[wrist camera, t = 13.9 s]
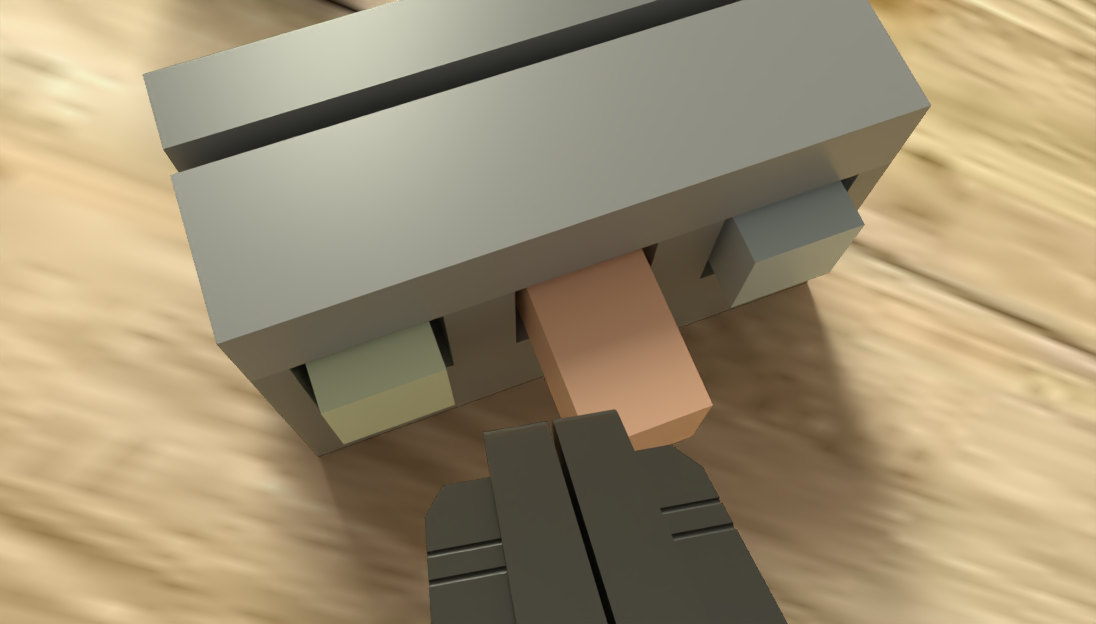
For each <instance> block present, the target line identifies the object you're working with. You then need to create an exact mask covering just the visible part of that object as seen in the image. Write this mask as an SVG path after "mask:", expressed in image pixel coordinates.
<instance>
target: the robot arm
mask: <svg viewBox="0 0 1096 624" xmlns="http://www.w3.org/2000/svg"><path fill="white" fill-rule="evenodd" d="M551 428H552V435H551V432H550V429H549V426H548V423H547V421H545V422H540V423H534V424H528V425H523V426H517V427H511V428H505V429H500V430H494V431H488V432H483V436H484V442H485V448H486V455H487V461H488V467H489V473H490V477H488V478H482V479H477V480H471V481H466V482H460V483H455V484H449V485H443V486H442V488H441V490H440V491H439V493H438V495H437V497H436V499H435V501H434V502H433V504H432V506H431V508H430V510H429V512H428V513H427V515H426V517H425V525H426V542H427V554H428V576H429V585H430V587H429V592H430V609H431V624H788V623H787V622H786V620H785V618H784V616H783V614H782V612H781V610H780V609H779V607H778V605H777V603H776V601H775V599H774V598H773V596H772V594H771V592H770V590H769V588H768V586H767V585H766V583H765V581H764V579H763V577H762V575H761V574H760V572H759V570H758V568H757V566H756V564H755V562H754V561H753V559H752V557H751V555H750V553H749V551H748V550H747V548H746V546H745V544H744V542H743V540H742V538H741V537H740V535H739V533H738V531H737V529H734V527H733V522H732V520H731V518H730V516H729V514H728V513H727V511H726V509H725V507H724V505H723V503H720V500H719V496H718V494H717V492H716V490H715V489H714V487H713V485H712V483H711V481H710V479H709V478H708V476H707V474H706V472H705V470H704V468H703V467H702V466H701V465H699V464H698V463H696V462H695V461H693V460H692V459H691V458H689V457H688V456H686V455H685V454H683V453H682V452H681V451H679V450H678V449H676V448H675V447H673V446H672V445H665V446H659V447H654V448H648V449H643V450H637V451H635V450H634V448H633V446H632V444H631V441H630V439H629V437H628V434H627V432H626V430H625V427H624V425H623V423H622V421H621V418H620V416H619V414H618V412H617V411H616V410H615V409H613V410H607V411H601V412H596V413H590V414H584V415H578V416H573V417H567V418H561V419H556V420H552V422H551Z"/></svg>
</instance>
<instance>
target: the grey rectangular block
mask: <svg viewBox="0 0 1096 624" xmlns="http://www.w3.org/2000/svg"><path fill="white" fill-rule="evenodd" d="M864 225H865V224H864V222H863V220H862V219H861V217H860V215H859V213H858V211H857V210H856V208H855V206H854V204H853V202H852V200H851V199H850V197H849V195H848V193H847V191H846V189H845V188H844V186H843V184H842V182H841V180H840V181H837V182H834V183H831V184H828V185H825V186H822V187H819V188H817V189H814V190H811V191H808V192H805V193H802V194H799V195H796V196H793V197H790V198H787V199H784V200H781V201H779V202H776V203H773V204H770V205H767V206H764V207H761V208H758V209H755V210H752V211H749V212H746V213H743V214H740V215H738V216H735V217H732V218H729V219H726V220H725V221H724V224H723V226H722V228H721V231H720V233H719V235H718V238H717V240H716V242H715V245H714V247H713V249H712V252H711V254H710V256H709V258H708V261H709V263H710V265H711V267H712V269H713V271H714V273H715V275H716V278H717V280H718V282H719V284H720V286H721V288H722V290H723V292H724V294H725V296H726V298H727V301H728V303H729V305H730V307H731V308H732V307H734V306H737V305H740V304H743V303H746V302H748V301H751V300H754V299H757V298H760V297H762V296H765V295H768V294H771V293H774V292H776V291H779V290H782V289H785V288H788V287H790V286H793V285H796V284H799V283H802V282H804V281H807V280H810V279H813V278H816V277H818V276H821V275H824V274H827V273H829V272H830V271H831V269H832V268H833V267H834V265H835V264H836V263H837V261H838V260H839V259H840V257H841V256H842V255H843V253H844V252H845V251H846V249H847V248H848V247H849V245H850V244H851V242H852V241H853V240H854V238H855V237H856V236H857V234H858V233H859V232H860V230H861V229H862V228H863V226H864Z"/></svg>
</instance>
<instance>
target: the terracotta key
mask: <svg viewBox="0 0 1096 624" xmlns="http://www.w3.org/2000/svg"><path fill="white" fill-rule="evenodd" d="M515 303H516V306H517V308H518V311H519V313H520V316H521V318H522V321H523V323H524V326H525V328H526V331H527V334H528V336H529V339H530V341H531V344H532V346H533V349H534V351H535V354H536V356H537V359H538V361H539V364H540V366H541V369H542V371H543V374H544V377H545V379H546V382H547V384H548V387H549V389H550V392H551V394H552V397H553V399H554V402H555V404H556V407H557V409H558V412H559V414H560V417H561V418H567V417H573V416H578V415H584V414H590V413H596V412H601V411H607V410H613V409H615V410H616V411H617V412H618V414H619V416H620V418H621V421H622V423H623V425H624V427H625V430H626V432H627V434H628V437H629V439H630V441H631V444H632V446H633V448H634V450H635V451H637V450H643V449H648V448H654V447H659V446H665V445H670V444H673V443H676V442H678V441H681V440H684V439H686V438H689V437H692V435H693V434H694V433H695V431H696V430H697V428H698V427H699V425H700V424H701V422H702V421H703V419H704V418H705V416H706V415H707V413H708V412H709V410H710V409H711V407H712V406H713V404H712V402H711V400H710V397H709V395H708V393H707V391H706V389H705V386H704V384H703V382H702V380H701V378H700V375H699V373H698V371H697V369H696V367H695V364H694V362H693V360H692V358H691V356H690V353H689V351H688V349H687V347H686V345H685V342H684V340H683V338H682V336H681V334H680V331H679V329H678V327H677V325H676V323H675V320H674V318H673V316H672V314H671V312H670V309H669V307H668V305H667V303H666V301H665V298H664V296H663V294H662V292H661V290H660V287H659V285H658V283H657V281H656V279H655V276H654V274H653V272H652V270H651V268H650V265H649V263H648V261H647V259H646V257H645V254H644V252H643V250H642V248H641V249H638V250H635V251H632V252H629V253H626V254H624V255H621V256H618V257H615V258H612V259H609V260H606V261H603V262H600V263H597V264H594V265H591V266H588V267H586V268H583V269H580V270H577V271H574V272H571V273H568V274H565V275H562V276H559V277H556V278H553V279H550V280H547V281H545V282H542V283H539V284H536V285H533V286H530V287H527V288H524V289H521V290H518V291H515Z"/></svg>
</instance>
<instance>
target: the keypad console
mask: <svg viewBox="0 0 1096 624" xmlns="http://www.w3.org/2000/svg"><path fill="white" fill-rule="evenodd" d="M143 77H144V81H145V85H146V88H147V92H148V96H149V99H150V103H151V107H152V110H153V114H154V118H155V121H156V125H157V128H158V132H159V136H160V139H161V143H162V147H163V150H164V151H165V153H166V154H167V156H168V157H169V159H170V160H171V162H172V163H173V164H174V166H175V167H176V169H177V170H178V172H179V173H176V174H173V175H170V176H171V180H172V183H173V187H174V190H175V194H176V198H177V201H178V205H179V209H180V212H181V216H182V220H183V223H184V227H185V231H186V234H187V238H188V242H189V245H190V249H191V253H192V256H193V260H194V263H195V267H196V271H197V274H198V278H199V282H200V285H201V289H202V293H203V296H204V300H205V304H206V307H207V311H208V315H209V318H210V322H211V325H212V329H213V333H214V336H215V340H216V344H217V345H218V346H219V347H220V348H221V350H222V351H223V352H224V353H225V354H226V355H227V356H228V357H229V358H230V360H231V361H232V362H233V363H234V364H235V365H236V366H237V367H238V368H239V369H240V371H241V372H242V373H243V374H244V375H245V376H246V377H247V378H248V379H249V380H250V382H251V383H252V384H253V385H254V386H255V387H256V388H257V389H258V390H259V392H260V393H261V394H262V395H263V396H264V397H265V398H266V399H267V400H268V401H269V403H270V404H271V405H272V406H273V407H274V408H275V409H276V410H277V411H278V413H279V414H280V415H281V416H282V417H283V418H284V419H285V420H286V421H287V422H288V424H289V425H290V426H291V427H292V428H293V429H294V430H295V431H296V432H297V434H298V435H299V436H300V437H301V438H302V439H303V440H304V441H305V442H306V443H307V445H308V446H309V447H310V448H311V449H312V450H313V451H314V452H315V453H316V455H317V456H321V455H324V454H327V453H330V452H332V451H335V450H338V449H341V448H344V447H346V446H349V445H352V444H355V443H358V442H360V441H363V440H366V439H369V438H372V437H374V436H377V435H380V434H383V433H386V432H388V431H391V430H394V429H397V428H399V427H402V426H405V425H408V424H411V423H413V422H416V421H419V420H422V419H425V418H427V417H430V416H433V415H436V414H439V413H441V412H444V411H447V410H450V409H453V408H455V407H458V406H461V405H464V404H467V403H469V402H472V401H475V400H478V399H481V398H483V397H486V396H489V395H492V394H495V393H497V392H500V391H503V390H506V389H509V388H511V387H514V386H517V385H520V384H523V383H525V382H528V381H531V380H534V379H537V378H539V377H542V376H544V374H543V371H542V369H541V366H540V364H539V361H538V359H537V356H536V354H535V351H534V349H533V346H532V344H531V341H530V339H529V336H528V334H527V331H526V328H525V326H524V323H523V321H522V318H521V316H520V313H519V311H518V308H517V306H516V303H515V291H518V290H521V289H524V288H527V287H530V286H533V285H536V284H539V283H542V282H545V281H547V280H550V279H553V278H556V277H559V276H562V275H565V274H568V273H571V272H574V271H577V270H580V269H583V268H586V267H588V266H591V265H594V264H597V263H600V262H603V261H606V260H609V259H612V258H615V257H618V256H621V255H624V254H626V253H629V252H632V251H635V250H638V249H641V248H642V250H643V252H644V254H645V257H646V259H647V261H648V263H649V265H650V268H651V270H652V272H653V274H654V276H655V279H656V281H657V283H658V285H659V287H660V290H661V292H662V294H663V296H664V298H665V301H666V303H667V305H668V307H669V309H670V312H671V314H672V316H673V318H674V320H675V323H676V325H677V327H678V328H679V327H682V326H685V325H688V324H690V323H693V322H696V321H699V320H702V319H704V318H707V317H710V316H713V315H716V314H718V313H721V312H724V311H727V310H730V309H732V308H735V307H738V306H741V305H744V304H746V303H749V302H752V301H755V300H758V299H760V298H763V297H766V296H769V295H772V294H774V293H777V292H780V291H783V290H786V289H788V288H791V287H794V286H797V285H800V284H802V283H805V282H807V281H808V280H807V281H804V282H802V283H799V284H796V285H793V286H790V287H788V288H785V289H782V290H779V291H776V292H774V293H771V294H768V295H765V296H762V297H760V298H757V299H754V300H751V301H748V302H746V303H743V304H740V305H737V306H734V307H732V308H731V307H730V305H729V303H728V301H727V298H726V296H725V294H724V292H723V290H722V288H721V286H720V284H719V282H718V280H717V278H716V275H715V273H714V271H713V269H712V267H711V265H710V263H709V261H708V258H709V256H710V254H711V252H712V249H713V247H714V245H715V242H716V240H717V238H718V235H719V233H720V231H721V228H722V226H723V224H724V221H725V220H726V219H729V218H732V217H735V216H738V215H740V214H743V213H746V212H749V211H752V210H755V209H758V208H761V207H764V206H767V205H770V204H773V203H776V202H779V201H781V200H784V199H787V198H790V197H793V196H796V195H799V194H802V193H805V192H808V191H811V190H814V189H817V188H819V187H822V186H825V185H828V184H831V183H834V182H837V181H840V180H841V182H842V184H843V186H844V188H845V189H846V191H847V193H848V195H849V197H850V199H851V200H852V202H853V204H854V206H855V208H856V210H858V209H859V207H860V206H861V205H862V203H863V202H864V200H865V199H866V197H867V196H868V195H869V193H870V192H871V190H872V189H873V187H874V186H875V185H876V183H877V182H878V180H879V179H880V178H881V176H882V175H883V173H884V172H885V170H886V169H887V168H888V166H889V165H890V163H891V162H892V160H893V159H894V158H895V156H896V155H897V153H898V152H899V150H900V149H901V148H902V146H903V145H904V143H905V142H906V141H907V139H908V138H909V136H910V135H911V133H912V132H913V131H914V129H915V128H916V126H917V125H918V123H919V122H920V121H921V119H922V118H923V116H924V115H925V113H926V112H927V111H928V109H929V108H930V106H931V104H930V102H929V101H928V99H927V98H926V96H925V94H924V93H923V91H922V89H921V88H920V86H919V84H918V83H917V81H916V79H915V78H914V76H913V74H912V73H911V71H910V69H909V68H908V66H907V64H906V63H905V61H904V59H903V58H902V56H901V55H900V53H899V51H898V50H897V48H896V46H895V45H894V43H893V41H892V40H891V38H890V36H889V35H888V33H887V31H886V30H885V28H884V26H883V25H882V23H881V21H880V20H879V18H878V16H877V15H876V13H875V12H874V10H873V8H872V7H871V5H870V3H869V2H868V0H398V1H394V2H391V3H388V4H384V5H381V6H377V7H374V8H370V9H367V10H363V11H360V12H356V13H353V14H349V15H346V16H343V17H339V18H336V19H332V20H329V21H325V22H322V23H318V24H315V25H311V26H308V27H304V28H301V29H298V30H294V31H291V32H287V33H284V34H280V35H277V36H273V37H270V38H266V39H263V40H259V41H256V42H253V43H249V44H246V45H242V46H239V47H235V48H232V49H228V50H225V51H221V52H218V53H214V54H211V55H208V56H204V57H201V58H197V59H194V60H190V61H187V62H183V63H180V64H176V65H173V66H169V67H166V68H163V69H159V70H156V71H152V72H149V73H145V74H143ZM428 321H429V323H430V326H431V328H432V331H433V334H434V337H435V339H436V342H437V345H438V348H439V351H440V353H441V356H442V359H443V362H444V364H445V367H446V370H447V374H448V378H449V382H450V386H451V390H452V394H453V398H454V402H455V405H453V406H450V407H447V408H444V409H442V410H439V411H436V412H433V413H430V414H428V415H425V416H422V417H419V418H416V419H414V420H411V421H408V422H405V423H402V424H400V425H397V426H394V427H391V428H388V429H386V430H383V431H380V432H377V433H374V434H372V435H369V436H366V437H363V438H360V439H358V440H355V441H352V442H349V443H346V444H343V443H342V441H341V440H340V439H339V437H338V436H337V435H336V433H335V432H334V431H333V429H332V428H331V427H330V425H329V424H328V423H327V421H326V420H325V419H324V417H323V416H322V415H321V413H320V410H319V407H318V403H317V400H316V397H315V393H314V390H313V387H312V384H311V380H310V377H309V374H308V371H307V367H306V364H305V363H308V362H311V361H314V360H316V359H319V358H322V357H325V356H328V355H331V354H334V353H337V352H340V351H343V350H346V349H349V348H352V347H355V346H357V345H360V344H363V343H366V342H369V341H372V340H375V339H378V338H381V337H384V336H387V335H390V334H393V333H395V332H398V331H401V330H404V329H407V328H410V327H413V326H416V325H419V324H422V323H425V322H428Z"/></svg>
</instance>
